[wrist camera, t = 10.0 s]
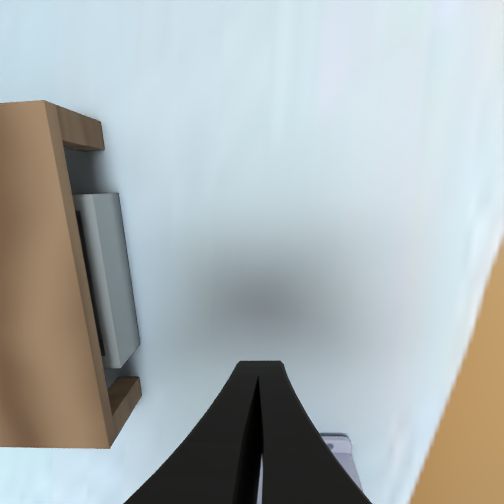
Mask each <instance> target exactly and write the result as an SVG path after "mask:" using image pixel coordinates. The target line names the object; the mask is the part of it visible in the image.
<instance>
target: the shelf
mask: <svg viewBox="0 0 504 504" xmlns="http://www.w3.org/2000/svg"><path fill="white" fill-rule="evenodd" d="M64 148H67V149H72V150H77V151H87V150H105V149H104V142H103V136H102V129H101V122H100V121H97V120H95V119H92V118H89V117H87V116H84V115H82V114H79V113H76V112H74V111H71V110H68V109H66V108H63V107H60V106H58V105H55V104H52V103H50V102H47V101H45V100H40V101H26V102H11V103H0V447H31V448H95V449H110V447H111V446H112V444H113V442H114V441H115V439H116V437H117V436H118V434H119V432H120V431H121V429H122V427H123V426H124V424H125V422H126V421H127V419H128V418H129V416H130V414H131V413H132V411H133V409H134V408H135V406H136V404H137V403H138V401H139V399H140V398H141V396H142V394H141V388H140V381H139V377H118V378H117V379H116V380H115V382H114V383H113V384H112V385H111V387H110V388H109V389H108V390H107V385H106V380H105V374H104V369H103V363H102V358H101V352H100V347H99V341H98V336H97V330H96V325H95V319H94V314H93V308H92V302H91V297H90V291H89V286H88V280H87V275H86V269H85V264H84V258H83V253H82V247H81V242H80V236H79V231H78V225H77V219H76V214H75V208H74V203H73V197H72V192H71V186H70V181H69V175H68V170H67V164H66V159H65V153H64Z"/></svg>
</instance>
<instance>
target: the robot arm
mask: <svg viewBox="0 0 504 504" xmlns="http://www.w3.org/2000/svg"><path fill="white" fill-rule="evenodd" d="M327 444H330V445H327ZM123 504H372V503H371V502H370V501H369V499H368V498H367V497H366V496H365V494H364V493H363V489H362V486H361V483H360V480H359V476H358V473H357V470H356V467H355V463H354V460H353V457H352V445H351V441H350V439H349V438H347V437H344V436H320V434H319V433H318V431H317V429H316V428H315V426H314V425H313V423H312V422H311V420H310V418H309V417H308V415H307V413H306V411H305V410H304V408H303V406H302V404H301V403H300V401H299V399H298V397H297V395H296V393H295V391H294V389H293V387H292V385H291V383H290V381H289V378H288V376H287V373H286V371H285V367H284V364H283V363H282V362H281V361H240V362H239V363H238V364H237V365H236V367H235V369H234V370H233V372H232V374H231V376H230V377H229V379H228V381H227V382H226V384H225V385H224V387H223V389H222V390H221V392H220V393H219V394H218V396H217V397H216V399H215V400H214V402H213V403H212V405H211V406H210V408H209V409H208V410H207V412H206V413H205V414H204V416H203V417H202V418H201V419H200V421H199V422H198V423H197V425H196V426H195V427H194V428H193V430H192V431H191V432H190V434H189V435H188V436H187V437H186V438H185V440H184V441H183V442H182V443H181V444H180V446H179V447H178V448H177V449H176V450H175V451H174V452H173V454H172V455H171V456H170V457H169V458H168V459H167V460H166V461H165V462H164V463H163V464H162V466H161V467H160V468H159V469H158V470H157V471H156V472H155V473H154V474H153V475H152V476H151V477H150V478H149V479H148V480H147V481H146V482H145V483H144V484H143V485H142V486H141V487H140V488H139V489H138V490H137V491H136V492H135V493H134V494H133V495H132V496H131V497H130V498H129V499H128V500H127V501H126V502H125V503H123Z"/></svg>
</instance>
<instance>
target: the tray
mask: <svg viewBox="0 0 504 504" xmlns="http://www.w3.org/2000/svg"><path fill="white" fill-rule="evenodd" d="M72 197H73V203H74V208H75V214H76V219H77V225H78V231H79V236H80V242H81V247H82V253H83V258H84V264H85V269H86V275H87V280H88V286H89V291H90V297H91V302H92V308H93V314H94V319H95V325H96V330H97V336H98V341H99V347H100V352H101V358H102V363H103V368H121V367H122V366H123V365H124V363H125V362H126V361H127V360H128V358H129V357H130V356H131V355H132V354H133V352H134V351H135V350H136V349H137V347H138V346H139V345H140V340H139V333H138V326H137V319H136V312H135V305H134V298H133V291H132V284H131V277H130V270H129V263H128V256H127V249H126V242H125V235H124V229H123V222H122V215H121V208H120V201H119V194H118V193H104V194H81V195H72Z"/></svg>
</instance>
